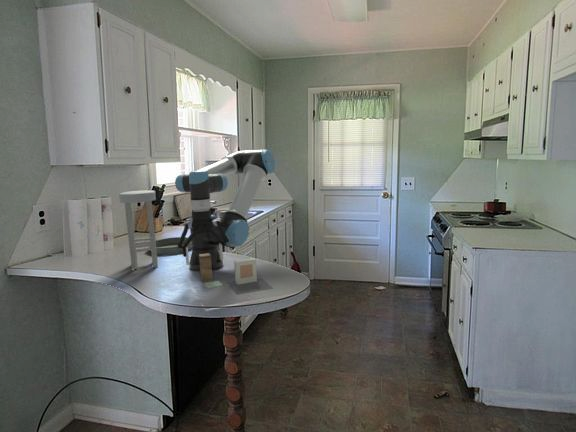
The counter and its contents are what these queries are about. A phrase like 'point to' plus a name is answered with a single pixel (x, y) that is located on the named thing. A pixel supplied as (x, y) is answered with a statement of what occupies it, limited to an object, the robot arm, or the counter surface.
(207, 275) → the block
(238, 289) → the mat
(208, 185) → the robot arm
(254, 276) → the tile
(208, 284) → the rest pad
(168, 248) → the cake pan
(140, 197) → the stool
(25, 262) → the counter surface
